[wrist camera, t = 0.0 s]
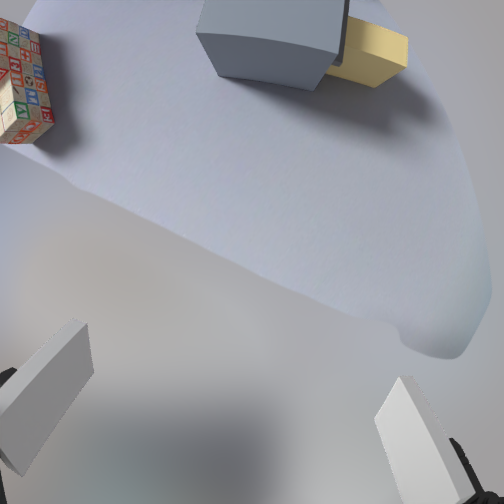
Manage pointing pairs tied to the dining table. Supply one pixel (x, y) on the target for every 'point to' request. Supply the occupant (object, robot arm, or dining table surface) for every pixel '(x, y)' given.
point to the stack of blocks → (22, 86)
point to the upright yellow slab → (371, 54)
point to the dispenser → (274, 39)
